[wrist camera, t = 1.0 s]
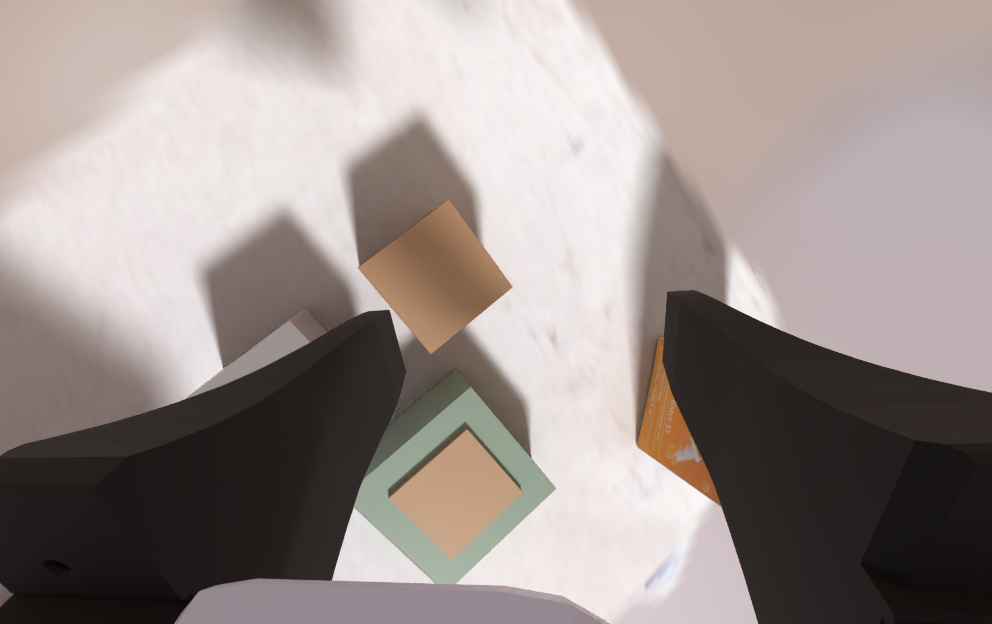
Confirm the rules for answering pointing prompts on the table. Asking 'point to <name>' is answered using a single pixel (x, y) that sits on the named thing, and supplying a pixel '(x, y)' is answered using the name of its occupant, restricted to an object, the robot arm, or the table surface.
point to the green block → (449, 482)
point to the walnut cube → (436, 276)
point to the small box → (671, 433)
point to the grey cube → (269, 349)
